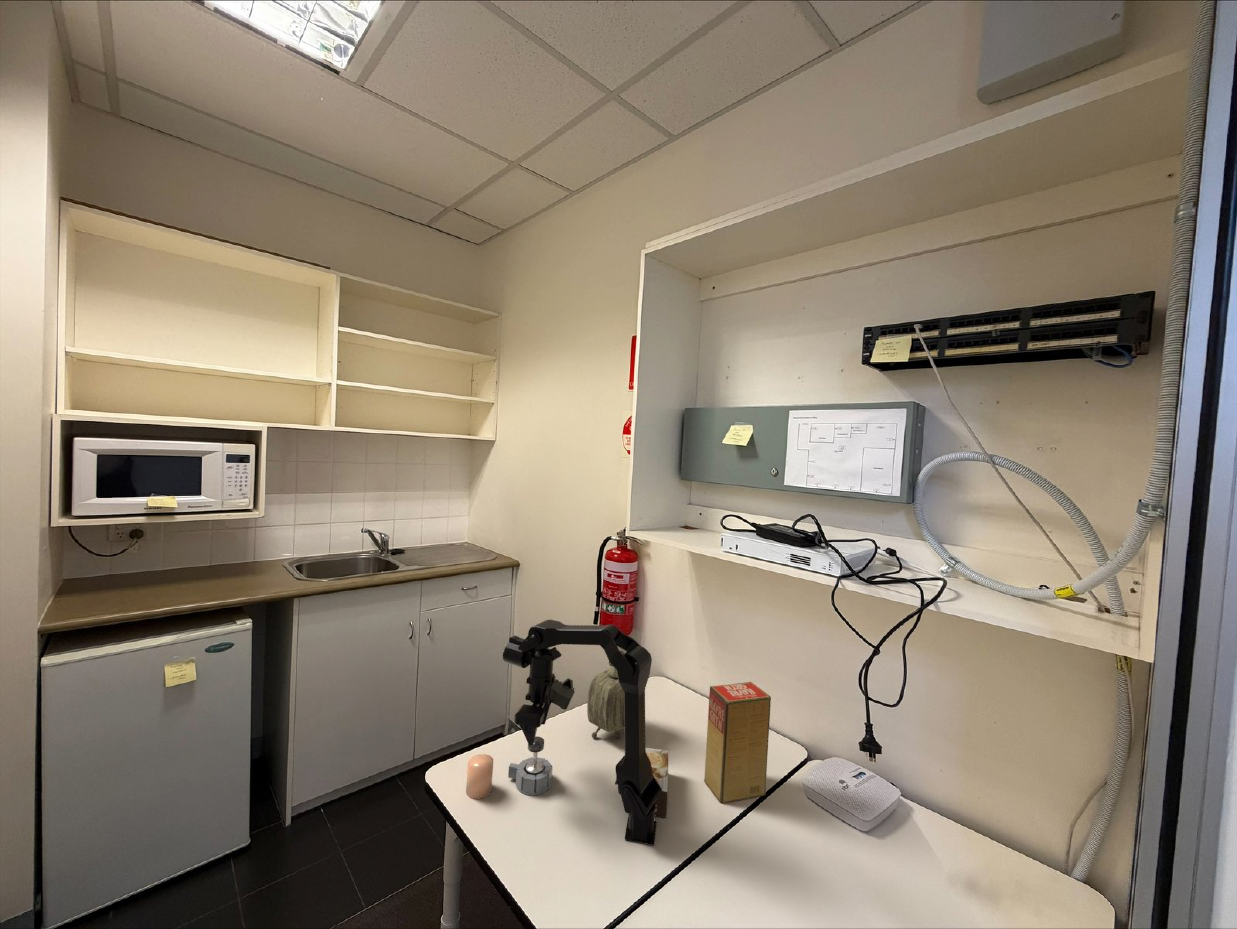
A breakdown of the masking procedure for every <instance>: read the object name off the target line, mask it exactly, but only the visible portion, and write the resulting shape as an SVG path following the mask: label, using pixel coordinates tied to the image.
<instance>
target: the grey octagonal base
mask: <svg viewBox="0 0 1237 929" xmlns="http://www.w3.org/2000/svg"><path fill="white" fill-rule="evenodd" d="M531 761H533V756H532V757H528V758H526V759H523V760H521V761H520V763H514V762H513V763H512V762H510V763H509V766H508V775H507V777H508V778H510V779H515V787H516V789H517V791H518V792H519V793H521V794H523V795H525V796H538V795H541V794H544V793H546V792H547V791H548V790H549V789H550V788H551V786H552V783H553V782H552V780H553V764H551V763H550V761H549V760H548V759H546V758H543V757H538V756H537V761H539V762H541V763H543V765H544V768H543V770H542V771H541V772H540V773H537V774H531V773H528V772H527V771H526V765H527V764H528V763H529V762H531Z"/></svg>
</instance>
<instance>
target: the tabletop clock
mask: <svg viewBox="0 0 1237 929" xmlns="http://www.w3.org/2000/svg"><path fill="white" fill-rule="evenodd" d="M619 651H620V652H621V653H622V654H625V652H624V650H622V649H621V650H620V649H619ZM608 665H609V666H610V667H609V668H608V669H606V670H603V671H602V672H600V673H599V674H597V675H595V676H593V678H592V679H591V680H590V684H589V688H588V693H587V694H588V695H587V702H586V703H587V704H586V705H587V710H586V713H587V714H586V715H587V719H588V722H589V723H591V724H593V725H594V726H596V727H597V728H596V730H595V731H593V732H592V733H591V737H592V739H596V738H597V736H598V733H599V731H600V730H601V729H602V730H603V731H605V732H607V733H614V732H615V738H617V739H620V738H621V736H622V734H621V732H620V730H622V729H625V725H624V690H623V688H622V687H621V685H620V683H619V680H618V674H617V670H616V668H615V667H614V666H613V665H612V664H611V663H610V662H609V661H608Z"/></svg>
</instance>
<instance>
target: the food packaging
mask: <svg viewBox="0 0 1237 929" xmlns="http://www.w3.org/2000/svg"><path fill="white" fill-rule="evenodd" d="M708 697H709V698H708V714H707V729H706V730H707V732H706V735H707V736H706V748H705V765H704V766H705V767H704V769H705V770H704V779H703V781H704V783H705V785H706V786H707V787H708V789H709V790H710V791H711V792H712V794H713V795H714V797H715V799H716V800H717V801H718V803H720V804H727V803H728V804H729V803H732V802H737V801H742V800H749V799H754V798H758V797H759V798H760V797H763V796H766V790H767V787H766V786H767V771H768V770H767V768H768V767H767V765H768V751H769V735H770V719H771V703H772V702H771V701H772V698H771V695H769V694H768V693H767V692H766V691H764V690H763V689H761V688H760V687H759V686H758V685H756V684H755V683H753V681H747V682H737V683H731V684H730V683H729V684H721V685H719V684H718V685H710V686H709V695H708Z"/></svg>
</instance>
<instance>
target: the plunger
mask: <svg viewBox="0 0 1237 929" xmlns="http://www.w3.org/2000/svg"><path fill="white" fill-rule="evenodd" d="M544 748H545V739H544V738H543V737H541V736H535V740H534V744H533V746H531V745H529V744H528V743H527V750H528V751H529V752H530V753H533V756H532V757H533V761H531V762H529V763H528V764H527V765H526V771H527V772H528V773H531V774H537V773H540V772H541V771H542V770H543V768H544V765H543V763H541V762H539V761H537V757H538V753H539V752H542V751H544Z"/></svg>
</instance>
